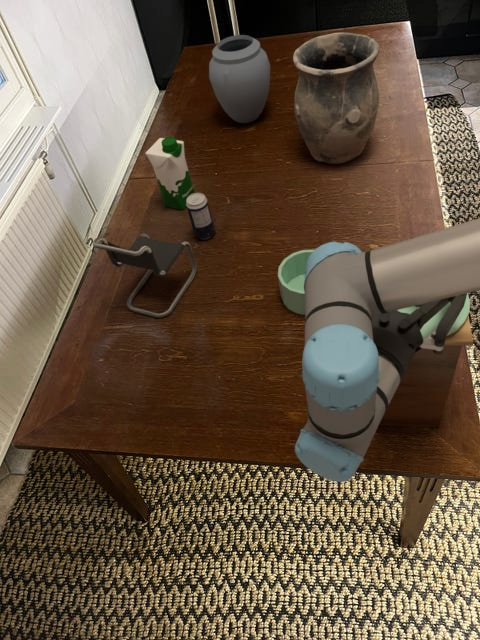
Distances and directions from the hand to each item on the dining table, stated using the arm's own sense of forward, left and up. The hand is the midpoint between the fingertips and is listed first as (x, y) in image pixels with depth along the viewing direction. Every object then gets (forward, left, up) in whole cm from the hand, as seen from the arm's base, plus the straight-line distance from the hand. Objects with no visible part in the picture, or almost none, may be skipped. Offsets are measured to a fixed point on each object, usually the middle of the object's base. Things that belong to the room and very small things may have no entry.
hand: (435, 250), depth 79 cm
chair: (+25, +58, -35) cm, 73 cm away
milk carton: (+60, +60, -35) cm, 92 cm away
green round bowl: (+23, +21, -35) cm, 47 cm away
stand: (-5, +2, -35) cm, 35 cm away
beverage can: (+45, +50, -35) cm, 76 cm away
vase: (+103, +45, -35) cm, 118 cm away
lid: (-5, +2, -6) cm, 8 cm away
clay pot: (+80, +15, -35) cm, 89 cm away
